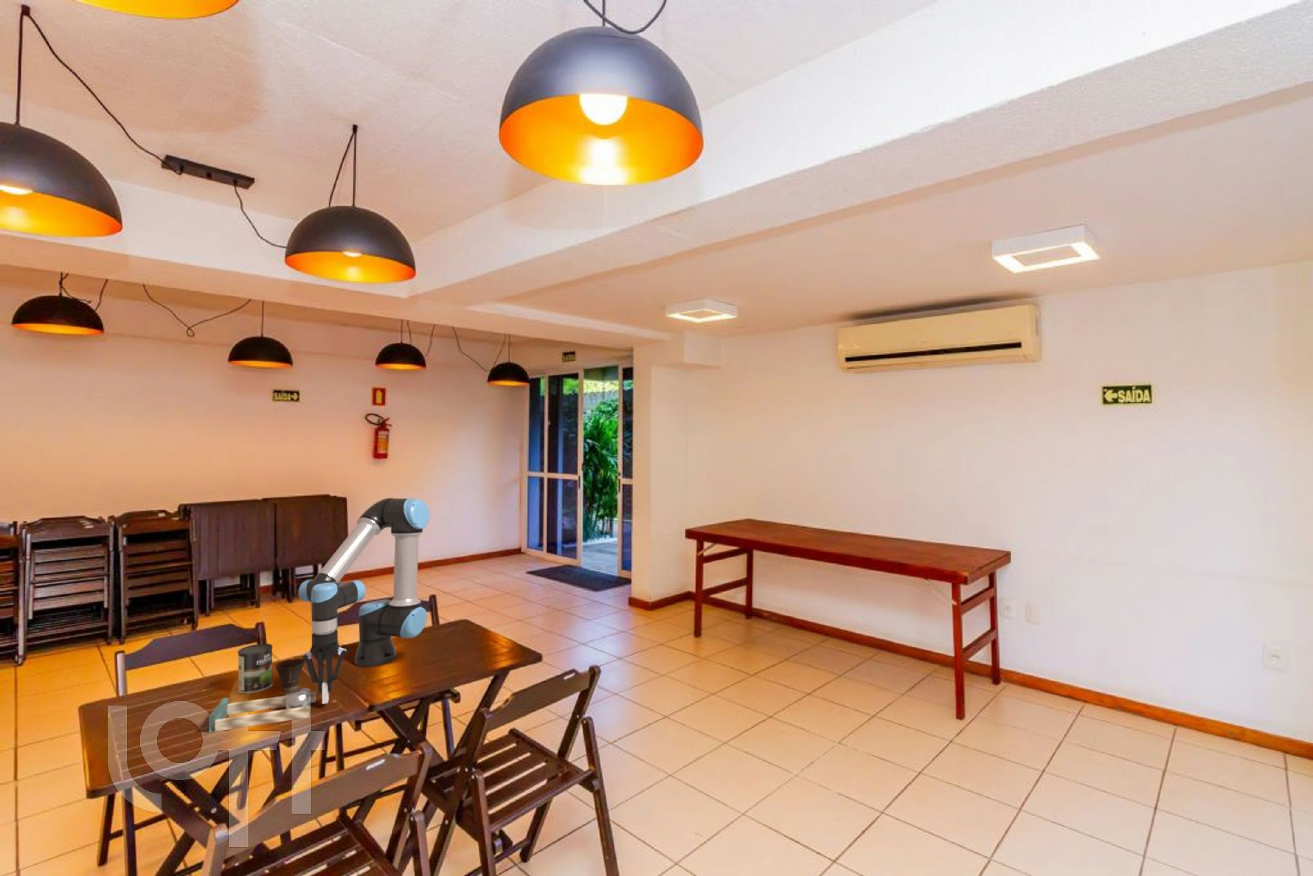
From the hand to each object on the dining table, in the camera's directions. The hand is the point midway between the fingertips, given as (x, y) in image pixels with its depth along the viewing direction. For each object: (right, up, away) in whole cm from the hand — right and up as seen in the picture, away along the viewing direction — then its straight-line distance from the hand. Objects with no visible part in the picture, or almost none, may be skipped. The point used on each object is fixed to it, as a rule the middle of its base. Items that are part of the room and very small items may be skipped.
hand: (325, 701), depth 199 cm
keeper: (-7, -2, -3) cm, 8 cm away
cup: (-20, -2, +14) cm, 24 cm away
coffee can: (-33, -2, +15) cm, 37 cm away
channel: (-16, -2, -6) cm, 17 cm away
